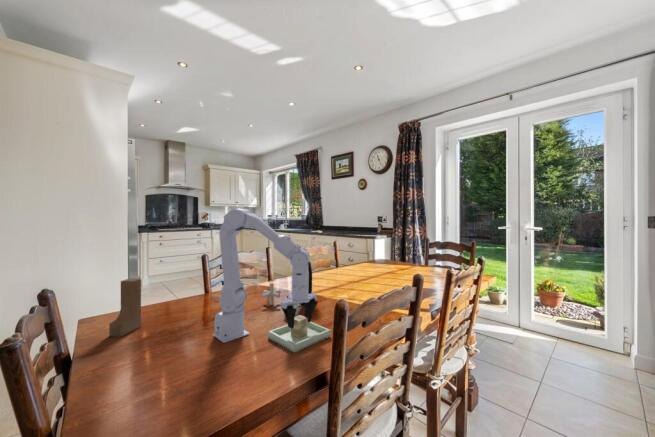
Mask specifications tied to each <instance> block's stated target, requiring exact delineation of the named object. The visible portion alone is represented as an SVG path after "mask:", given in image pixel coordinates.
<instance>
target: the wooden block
mask: <svg viewBox="0 0 655 437" xmlns="http://www.w3.org/2000/svg"><path fill="white" fill-rule="evenodd" d="M119 310H120V311H119V313H118V316H117V317H116V319H114V320H113V321H111V322H110V323H109V324H108V325H109V327H108V328H109V332H108V333H109V334H108V335H109V337H115V338H117V337H118V338H122V337H124V336H126V335H127V334H129V333H131V332H133V331H135V330H137V329H139V328H141V327H142V279H141V278H134V277H133V278H131V277H130V278H127V279H124V280H120V308H119Z"/></svg>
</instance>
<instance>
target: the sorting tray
mask: <svg viewBox="0 0 655 437" xmlns="http://www.w3.org/2000/svg"><path fill="white" fill-rule="evenodd" d="M331 331H332V330H331V329H330V328H327V327H325V326H322V325H319V324H318V323H316V322H312V321H311V322H308V329H307V336H305V337H302V338H300V339H297V338H295V337H293V336H292V335H291V328H289V327H288V324H285V325H282V326H278V327H277V328H274V329H272V330H269V331H268V334H267V335H268V340H269V341H271V342H273V341H274V343H275V342H276V344H277V343H278V344H277V345H279V346H280V345H281V347H282V346H283V348H284V347H285V348H284V349H286V348H287V349H286V350H288V349H289V350H290V351H289V350H288V351H289V352H291V351H292V352H291V353H293V352H294V353H293V354H296V353H298V352H301V351H303V350H304V348H305V349H307V348H309V346H310V347H311V345H312V346H313V344H314V345H316V344H318V343H317V342H319V341H321V342H322V340H323V339H325V338H327V337H329V336H330V338H331V337H332V336H331V335H332V334H331ZM327 339H328V338H327ZM325 340H326V339H325ZM323 341H324V340H323ZM315 343H316V344H315ZM319 343H320V342H319ZM306 347H307V348H306ZM302 349H303V350H302ZM300 350H301V351H300ZM297 351H298V352H297ZM295 352H296V353H295Z"/></svg>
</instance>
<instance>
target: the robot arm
mask: <svg viewBox="0 0 655 437" xmlns="http://www.w3.org/2000/svg"><path fill="white" fill-rule="evenodd" d="M244 229H254V230H256V231H257V232H258V233H259V234H261V235H262V236H264V237H265V238H266V239H268V240H269V241H271V243H273V247H274V249H275V250H276V251H277V252H278V253H280V254H281V255H282V256H283V257H285V258H286V259H287V260H289V261H290V265H291V266H292V272H291V296H289V297H290V298H288V299H287V298H286V299H284V300H282V301H280V308H281V310H282V312H283V314H284V317H285V316H286V317H285V319H286V323H287V325H288V327H289V328H291V329H292V328H294V318H295V313H296V309H294V308H293V305H297V304H303V308H304V317H306V318H308V322H312V317H313V314H314V311H315V309H316V307H317V305H318V294H317V293H314V292H312V294H308V288H309V271H308V269H309V267H308V264H307V263H308V262H309V261H310V258H311V254H310V253H309V252H308V250H307V249H306V248H302V246H301V245H300V244H299V245H298V244H297V243H296V242H294V241H293V240H292V237H291V236H290V235H285V234H281V235H280V234H279V233H277V231H275V229H273V228H272V227H271V226H270V225H268V224H267V222H265V221H264V220H263V219H262V218H260V216H258V215H257V214H256V213H253V212H252V211H251V210H250V209H248V208H243V209H241V208H232V209H230V210H229V211H228V212H227V213H226V214H225V215H224V216H223V222H222V224H221V227H220V228H219V234H218V236H219V243H220V244H219V245H220V254H221V255H220V256H221V262H222V263H221V264H222V266H221V267H222V274H223V285H222V288H221V290H220V297H219V302H218V304H219V308H220V309H221V311H220V312H217V313H216V314H215V316H214V327H213V328H214V329H213V330H214V331H213V332H214V333H213V337H215V338H217V340H219V341H220V342H221V343H223V344H224V343H227V342H231V341H234V340H236V339H240V338H242V337H245V336H248V335H250V332H249V331H247V330H245V305H244V304H245V302H246V301H247V298H248V293H247V291H246V289H245V287H244V283H243V282H242V281H241V275H240V264H239V254H238V245H237V236H238V235H239V233H240V232H241V231H243V230H244Z"/></svg>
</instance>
